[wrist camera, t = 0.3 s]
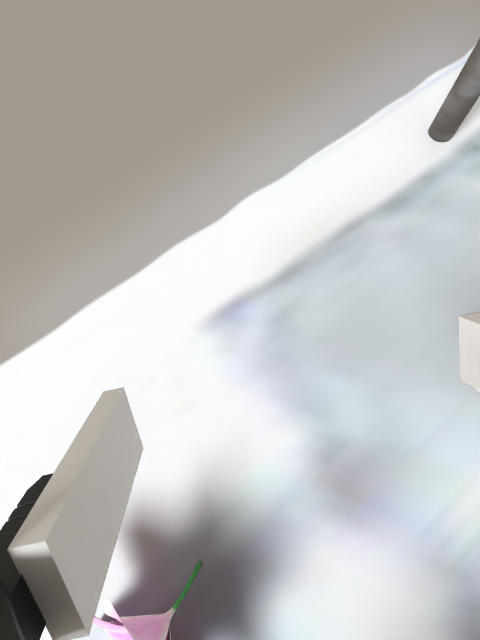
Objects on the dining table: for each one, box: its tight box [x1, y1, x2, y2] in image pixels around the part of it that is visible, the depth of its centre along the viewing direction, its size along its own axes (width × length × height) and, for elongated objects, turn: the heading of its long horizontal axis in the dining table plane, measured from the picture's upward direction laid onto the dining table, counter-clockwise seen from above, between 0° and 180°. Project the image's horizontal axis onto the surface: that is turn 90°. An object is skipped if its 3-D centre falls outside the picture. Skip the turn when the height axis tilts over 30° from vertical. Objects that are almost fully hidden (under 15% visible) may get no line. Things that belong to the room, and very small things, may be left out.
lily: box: [92, 561, 202, 640], centre depth 22 cm, size 12×12×10 cm
